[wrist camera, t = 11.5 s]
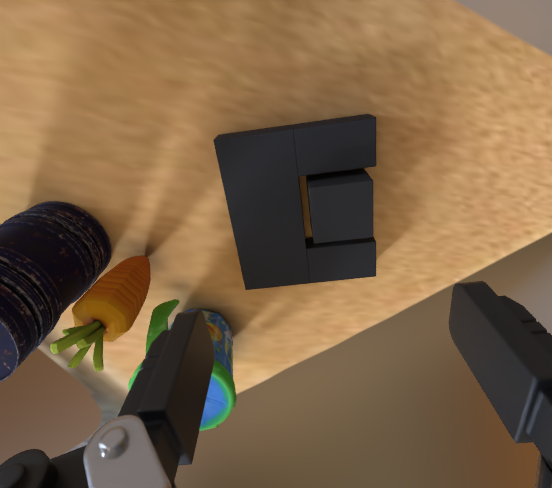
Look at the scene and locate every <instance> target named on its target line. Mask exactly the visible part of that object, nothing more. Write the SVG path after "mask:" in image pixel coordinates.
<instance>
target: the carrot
mask: <svg viewBox="0 0 552 488" xmlns="http://www.w3.org/2000/svg"><path fill="white" fill-rule="evenodd" d="M149 285H150V262H149V259H148V258H147V257H146V256H134V257H131V258H128V259H126V260H124V261H123V262H121V263H120V264H118V265H117V266H115V267H114V268H113V269H111V270H110V271H109V272H108V273H106V274H105V275H104V276H103V277H101V278H100V279H99V280H98V281H97V282H96V283H95V284H94V285H93V286H92V287H91V288H90V289H89V290H88V291H87V292H86V293H85V294H84V295H83V296H82V297H81V298H80V299H79V300H78V301H77V302H76V303H75V305H74V306H73V309H72V313H73V318H74V323H75V327H73V328H69V329H64V330H63V334H64V335H65V337H63V338H61V339H59V340H57V341H55V342H53V343H52V344H51V348H50V349H51V351H52V353H54V354H56V353H59V352H61V351H63V350H65V349H67V348H69V347H71V346H72V345H74V344H76V345H77V347H78V348H79V349H80V350H79V351H78V352H77V354H76V355H75V356H74V357H73V359H72V360H71V361H70V363H69V365H68V367H70V368H75V367H77V366H78V364H79V363H80V362H81V360H82V359H83V357H84V356H85V354H86V353H87V351H88V350H89V348H90V347H91V345H92V344H93V343H95V348H94V355H93V364H94V369H95V371H96V372H99V371H101V370H103V341H108V342H113V341H114V340H116V339H117V338H119V337H120V336H121V335H123V334H124V333H126V332H127V331H128V330H129V329H130V328H131V327H132V325H133V323H134V321H135V319H136V318H137V316H138V314H139V312H140V310H141V308H142V306H143V304H144V302H145V299H146V296H147V293H148V289H149Z"/></svg>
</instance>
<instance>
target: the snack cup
mask: <svg viewBox="0 0 552 488" xmlns="http://www.w3.org/2000/svg"><path fill="white" fill-rule="evenodd" d="M178 303H179V300H171V301H168V302H165V303H162V304H160V305H158V306H157V307H156V308H155V309H154V310H153V312H152V316H151V321H150V325H149V330H148V334H147V342H146V354H147V352H148V349H149V347H150V345H151V343H152V342H153V341H154V340H155V338H156V337H157V336H158V335H159V334H160V333H161V332H162V331H163V330H170V329H171V327H172V325H173V323H172V324H171V326H170V327H169V328H168V317H169V315H170V314H171V312H172V311H173V310H174V308H175V307H176V306H177V305H178ZM191 311H202V312H203V314H204V316H205V319H206V323H207V326H208V329H209V332H210V335H211V338H212V341H213V345H214V352H215V360H214V366H213V370H212V375H211V380H210V384H209V389H208V393H207V398H206V402H205V407H204V411H203V416H202V420H201V425H200V429H199V431H201V430H206V429H211V428H215V427H218V425H219V424H220V423H221V422H222V421H224V420H225V419H226V418H227V417H228V416H229V414H230V413H231V411H232V409H233V407H235V403H236V392H235V384H234V381H233V352H232V345H233V340H232V333H231V328H230V326H229V325H228V323H227V322H226V321H225V320H224V319H223V317H222V316H221V315H220V314H219V313H213V312H210V311H207V310H198V309H197V310H195V309H191V310H188V311H186V312H191ZM141 365H142V363H141V364H140V365H139V366H138V368H137V369H136V371H135V372H134V374H133V376H132V378H131V379H130V381H129V391H130V389H131V387H132V384H133V382H134V380H135V378H136V376H137V373H138V371H140V367H141Z"/></svg>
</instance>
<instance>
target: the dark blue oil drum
mask: <svg viewBox="0 0 552 488" xmlns="http://www.w3.org/2000/svg"><path fill="white" fill-rule="evenodd" d="M110 258H111V245H110V241H109V238H108V236H107V234H106V232H105V230H104V229H103V227H102V226H101V225H100V224H99V222H98V221H97V220H96V219H95V218H93V217H92V216H91V215H90V214H88V213H87V212H86V211H84V210H82V209H80V208H79V207H76V206H74V205H71V204H68V203H64V202H56V201H54V202H44V203H40V204H38V205H35V206H34V207H32V208H30V209H29V210H27V211H24V212H21V213H19V214H17V215H15V216H13V217H11V218H9V219H8V220H6V221H5V222H4V223H3V224H1V225H0V382H1V381H3V380H5V379H6V378H8V377H9V376H11V374H12V373H13V372H14V371H15V370H16V368H18V366H19V365H20V364H21V363H22V362H23V361H24V360H25V358H26V357H27V356H28V355H29V354H30V353H32V352H33V351H34V350H35V349H36V348H37V347H38V346H39V345H40V343H41V342H42V341H43V340H44V339H45V338H46V336H47V335H48V334H49V333H50V332H51V331H52V330H53V329H54V327H55V325H56V324H57V322H58V320H59V318H60V315H61V314H62V313H63V312H64V311H65V310H66V308H67V307H68V306H69V305H70V304H71V303H73V302H75V301H76V300H78V299H79V298H80V297H81V295H83V293H84V292H86V291H87V290H88V289H89V288H90V287H91V286H92V285H93V283H94V282H95V281H96V280H97V278H98V276H99V275H100V274H101V273H102V272H103V270H104V269H105V268H106V267H107V265H108V263H109V261H110Z"/></svg>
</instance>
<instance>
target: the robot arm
mask: <svg viewBox="0 0 552 488" xmlns="http://www.w3.org/2000/svg"><path fill="white" fill-rule="evenodd" d="M449 330H450V334H451V337H452V339H453V341H454V343H455V345H456V346H457V348H458V350H459V351H460V353H461V355H462V356H463V358H464V360H465V361H466V363H467V364H468V366H469V368H470V369H471V371H472V372H473V374H474V376H475V378H476V379H477V381H478V383H479V384H480V386H481V387H482V389H483V391H484V392H485V394H486V396H487V397H488V399H489V401H490V402H491V404H492V405H493V407H494V409H495V410H496V412H497V414H498V415H499V417H500V419H501V420H502V422H503V423H504V425H505V427H506V428H507V430H508V432H509V433H510V435H511V437H512V438H513V440H514V441H515V443H528V442H534V444H535V445H536V447H537V448H538V450H539V451H540V454H539V457H538V462H537V470H536V478H535V487H534V488H552V335H551V334H550V333H547V330H546V329H545V328H544V327H543V326H542V325H541V324H540V323H539V322H536V319H535V318H534V317H533V316H532V315H531V314H530V313H529V312H528V311H527V310H526V308H525V307H524V306H522V305H520V304H519V303H517V302H515V301H513V300H512V299H510V298H508V297H506V296H497V295H496V294H495V292H493V290H492V289H491V288H490V287H489V286H488V285H487V284H486V283H485V282H483V281H477V282H468V283H458V284H455V286H454V287H453V293H452V301H451V309H450V317H449ZM145 357H146V358H145V359H144V360H143V362H142V365H141V367H140V371H138V373H137V376H136V378H135V380H134V382H133V384H132V387H131V389H130V391H129V393H128V395H127V397H126V400H125V402H124V404H123V406H122V408H121V411H120V413H119V415H118V417H117V418H114V419H112V420H110V421H108V422H107V423H106V424H104V425H103V426H102V427H100V428H99V429H98V430H97V431H96V432H95V433H94V435H93V436H92V437H91V439H90V440H89V442H88V444H87V445H85V446H83V447H81V448H78V449H76V450H73V451H71V452H68V453H65V454H63V455H60V456H58V457H55V458H52V459H49V457H48V456H47V455H46V454H45V453H44V452H43V451H41V450H38V449H30V450H26V451H23V452H21V453H18V454H16V455H14V456H13V457H11V458H9V459H8V460H7V461H5V462H4V463H3V464H1V465H0V488H177V486H176V483H175V481H174V479H175V476H176V472H177V468H178V465H188V464H192V461H193V456H194V452H195V447H196V443H197V438H198V434H199V429H200V425H201V420H202V416H203V411H204V407H205V402H206V398H207V393H208V389H209V384H210V380H211V375H212V370H213V366H214V360H215V352H214V345H213V341H212V338H211V335H210V332H209V329H208V326H207V323H206V319H205V316H204V314H203V312H202V311H191V312H182V313H178V314H177V315H176V317H175V320H174V322H173V325H172V327H171V329H170V330H163V331H162V332H161V333H160V334H159V335H158V336H157V337H156V338H155V340H154V341H153V342H152V343H151V345H150V347H149V349H148V352H147V354H146V356H145Z"/></svg>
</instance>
